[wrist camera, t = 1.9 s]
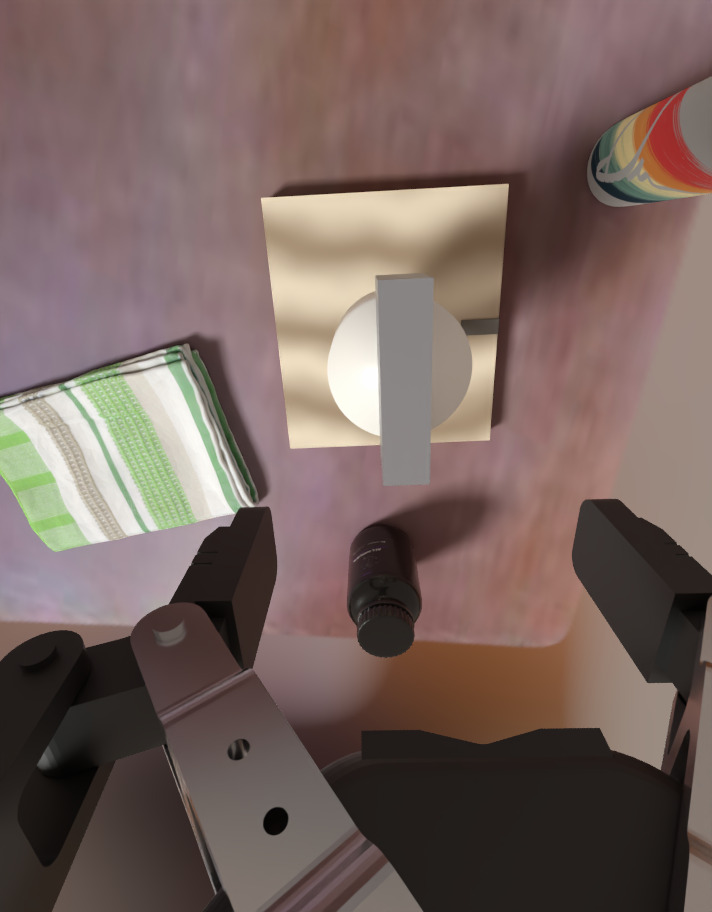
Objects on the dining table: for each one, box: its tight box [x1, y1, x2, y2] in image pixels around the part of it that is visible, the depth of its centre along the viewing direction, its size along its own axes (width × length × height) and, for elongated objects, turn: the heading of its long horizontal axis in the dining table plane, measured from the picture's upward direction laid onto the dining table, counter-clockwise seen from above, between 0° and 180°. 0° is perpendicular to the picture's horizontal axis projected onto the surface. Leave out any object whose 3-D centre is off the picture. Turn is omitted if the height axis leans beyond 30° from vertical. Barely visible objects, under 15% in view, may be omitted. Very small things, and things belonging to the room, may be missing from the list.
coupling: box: [327, 273, 472, 486], centre depth 26 cm, size 10×8×9 cm
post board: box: [261, 184, 509, 449], centre depth 35 cm, size 20×18×10 cm
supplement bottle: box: [347, 525, 422, 658], centre depth 43 cm, size 7×7×12 cm
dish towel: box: [0, 344, 259, 552], centre depth 44 cm, size 17×23×4 cm
